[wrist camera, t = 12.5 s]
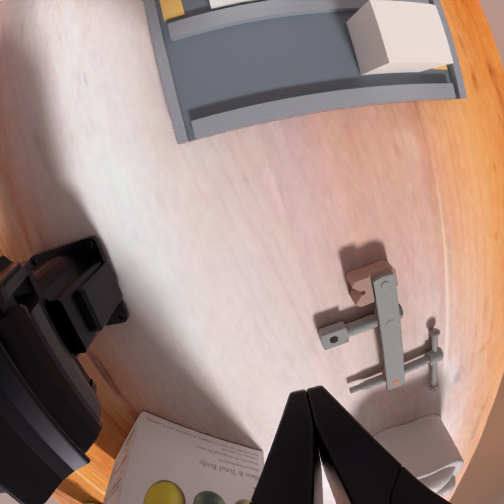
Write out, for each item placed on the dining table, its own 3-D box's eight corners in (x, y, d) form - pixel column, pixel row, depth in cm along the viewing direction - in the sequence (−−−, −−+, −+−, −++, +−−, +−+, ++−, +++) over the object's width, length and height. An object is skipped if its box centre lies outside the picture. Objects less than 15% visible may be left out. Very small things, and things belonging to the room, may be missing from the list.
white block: (361, 75, 15) (389, 62, 11) (345, 22, 14) (369, -1, 10) (418, 72, 15) (453, 63, 11) (404, 22, 14) (435, 4, 10)
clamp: (308, 299, 19) (445, 248, 18) (302, 283, 21) (429, 237, 20) (346, 431, 24) (443, 390, 24) (341, 414, 27) (434, 376, 26)
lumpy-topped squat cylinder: (447, 407, 27) (479, 462, 19) (422, 462, 32) (441, 508, 24) (364, 434, 28) (386, 500, 19) (353, 484, 32) (366, 535, 24)
